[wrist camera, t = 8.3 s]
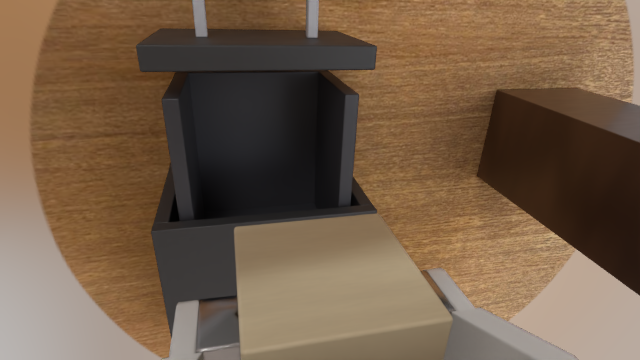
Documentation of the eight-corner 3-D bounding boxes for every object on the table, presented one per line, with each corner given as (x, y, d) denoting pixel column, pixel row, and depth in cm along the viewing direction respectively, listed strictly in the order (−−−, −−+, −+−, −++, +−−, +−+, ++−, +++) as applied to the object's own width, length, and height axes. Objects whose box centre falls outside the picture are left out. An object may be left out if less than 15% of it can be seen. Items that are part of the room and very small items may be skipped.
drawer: (148, -51, 22) (116, -67, 15) (340, -40, 25) (386, -51, 18) (185, 215, 30) (175, 282, 23) (328, 203, 32) (357, 260, 26)
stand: (496, 89, 32) (707, 167, 18) (576, 87, 34) (824, 157, 20) (476, 176, 36) (640, 297, 22) (549, 170, 37) (745, 279, 24)
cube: (233, 225, 10) (240, 353, 6) (379, 211, 11) (455, 318, 7) (242, 337, 12) (251, 486, 8) (367, 318, 13) (424, 444, 9)
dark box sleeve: (171, 160, 29) (150, 231, 20) (335, 150, 31) (377, 210, 23) (193, 308, 35) (184, 409, 27) (327, 290, 38) (358, 376, 29)
